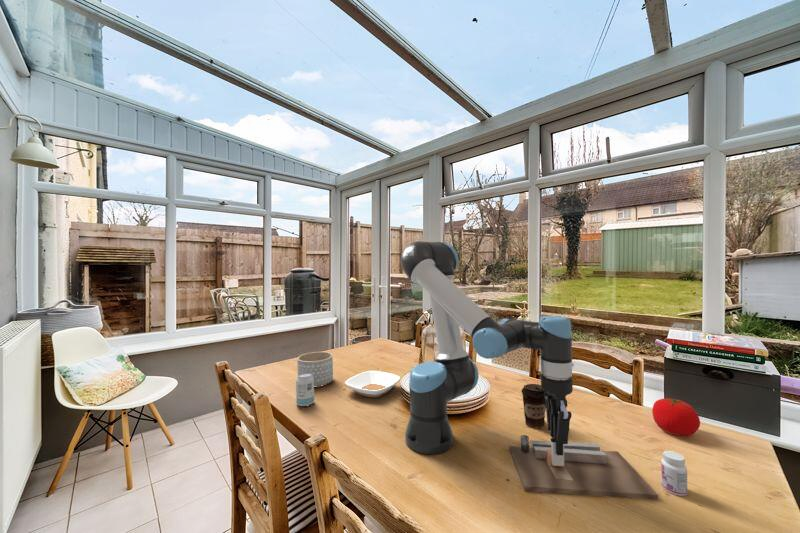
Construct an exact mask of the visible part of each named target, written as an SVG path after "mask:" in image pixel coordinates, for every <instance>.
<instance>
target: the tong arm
mask: <svg viewBox="0 0 800 533" xmlns="http://www.w3.org/2000/svg"><path fill="white" fill-rule="evenodd" d="M547 449H551V447H538V446H534V456H535V458H536V459H547ZM603 451H604V450H600V451H591V450H578V449H565V448H564V461H572V462H585V463H597V464H607V460H606V454H605V453H604V452H603Z"/></svg>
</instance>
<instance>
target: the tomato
mask: <svg viewBox="0 0 800 533" xmlns="http://www.w3.org/2000/svg"><path fill="white" fill-rule="evenodd" d="M651 413H652V417H653V420H654V422H655V425H657V426H658V428H660V429H661V430H663V431H664V432H666V433H668V434H671V435H675V436H679V437H689V436H692V435H694V434H696V433H697V431H699V428H700V426H701V420H700V416H699V415H698V413H697V411H696V410H695V408H693V406H692V405H690V404H689V403H687V402H686V401H683V400H680V399H674V398H671V397H670V398H661V399H657V400H656V401H654V403H653V404H652V412H651Z"/></svg>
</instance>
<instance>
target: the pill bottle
mask: <svg viewBox="0 0 800 533" xmlns="http://www.w3.org/2000/svg"><path fill="white" fill-rule="evenodd" d="M685 460H686V458H685V457H684V456H683V455H682V454H680V453H678V452H676V451H673V450H664V451H663V453H662V459H661V461H660V463H661V464H660V465H661V466H660V467H661V486H662V488H663V489H664V490H666V492H668V493H670V494H673V495H675V496H678V497H679V496H680V497H684V496H687V495H688V491H689V490H688V468H687V466H686V461H685Z"/></svg>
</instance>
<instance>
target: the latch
mask: <svg viewBox="0 0 800 533" xmlns="http://www.w3.org/2000/svg"><path fill="white" fill-rule="evenodd" d="M547 461H548V463H549V465H550V466H553V464H552V462H551V449H547Z"/></svg>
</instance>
